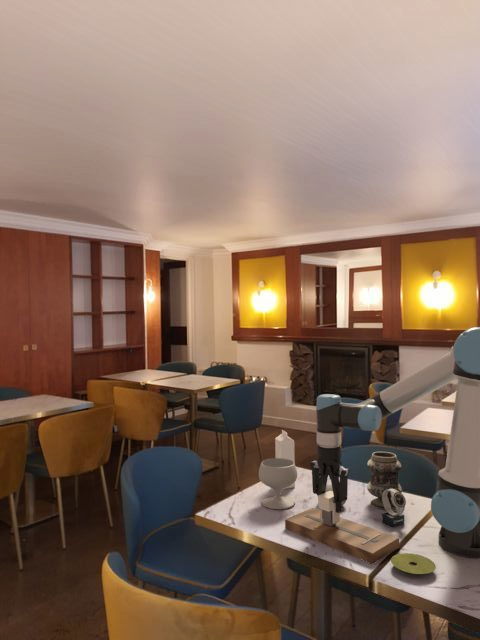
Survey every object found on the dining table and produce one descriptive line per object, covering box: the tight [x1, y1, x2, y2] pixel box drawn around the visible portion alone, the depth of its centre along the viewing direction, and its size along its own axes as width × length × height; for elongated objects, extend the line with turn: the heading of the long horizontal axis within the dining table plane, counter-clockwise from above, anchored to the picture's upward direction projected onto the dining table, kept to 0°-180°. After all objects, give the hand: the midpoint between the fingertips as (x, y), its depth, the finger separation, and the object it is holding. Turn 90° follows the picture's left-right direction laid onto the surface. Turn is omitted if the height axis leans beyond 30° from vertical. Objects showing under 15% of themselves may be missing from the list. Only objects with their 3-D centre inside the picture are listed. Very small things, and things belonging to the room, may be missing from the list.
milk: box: [274, 429, 296, 490], centre depth 198 cm, size 6×6×22 cm
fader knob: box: [318, 491, 337, 526], centre depth 154 cm, size 4×6×9 cm, turn 133°
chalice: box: [258, 457, 298, 510], centre depth 179 cm, size 14×14×15 cm
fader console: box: [284, 507, 400, 565], centre depth 151 cm, size 32×14×3 cm, turn 43°
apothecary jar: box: [366, 451, 403, 510], centre depth 178 cm, size 12×12×18 cm
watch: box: [381, 489, 407, 529], centre depth 161 cm, size 6×8×11 cm
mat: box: [390, 552, 436, 575], centre depth 131 cm, size 11×11×2 cm
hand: (329, 519), depth 154 cm, fingers closed on fader knob, 4 cm apart
